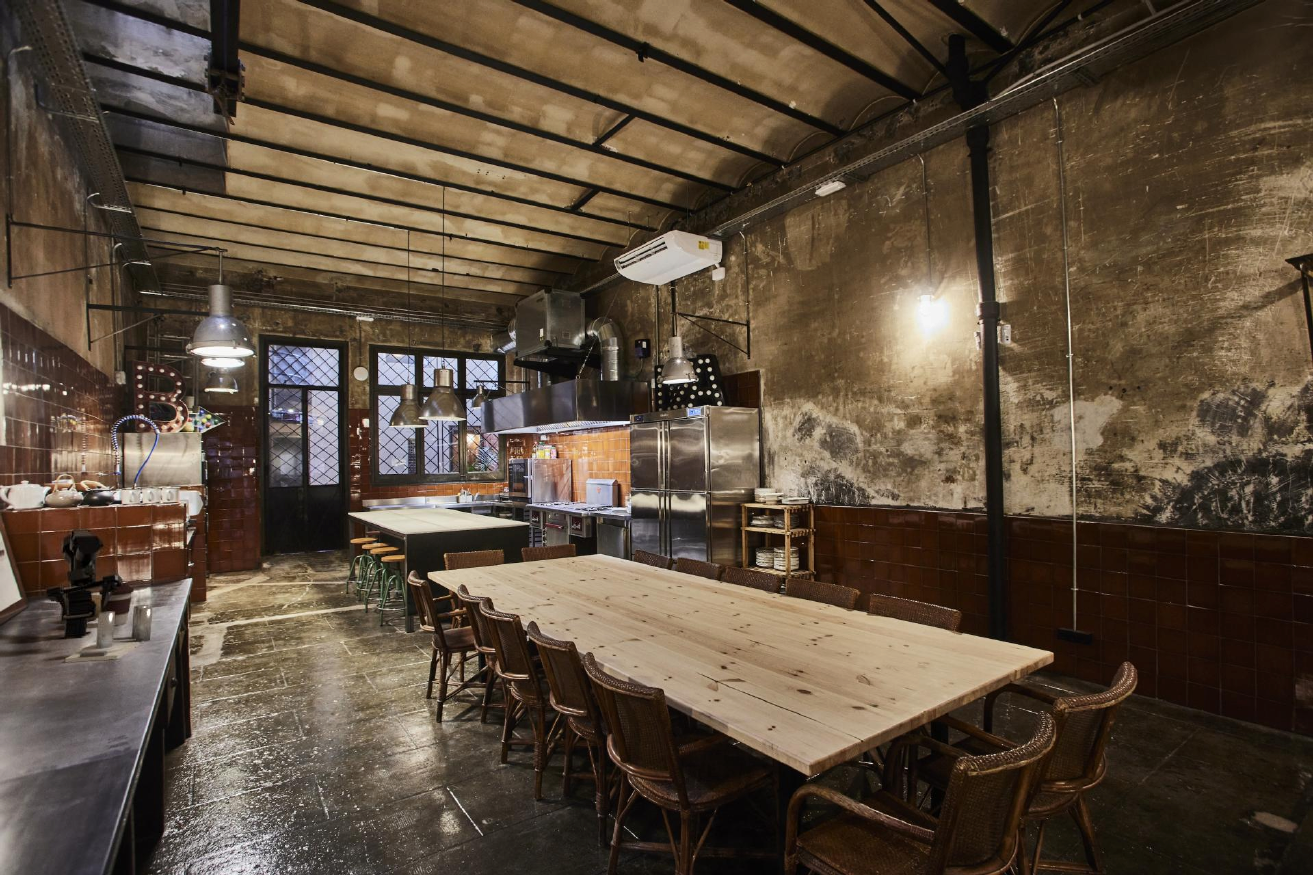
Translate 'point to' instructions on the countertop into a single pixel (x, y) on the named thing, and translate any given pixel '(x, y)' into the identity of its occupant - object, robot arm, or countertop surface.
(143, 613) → the spacer
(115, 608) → the coffee cup
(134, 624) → the spacer
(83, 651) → the scale
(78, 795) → the countertop surface
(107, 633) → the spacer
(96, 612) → the natural sponge
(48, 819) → the countertop surface
